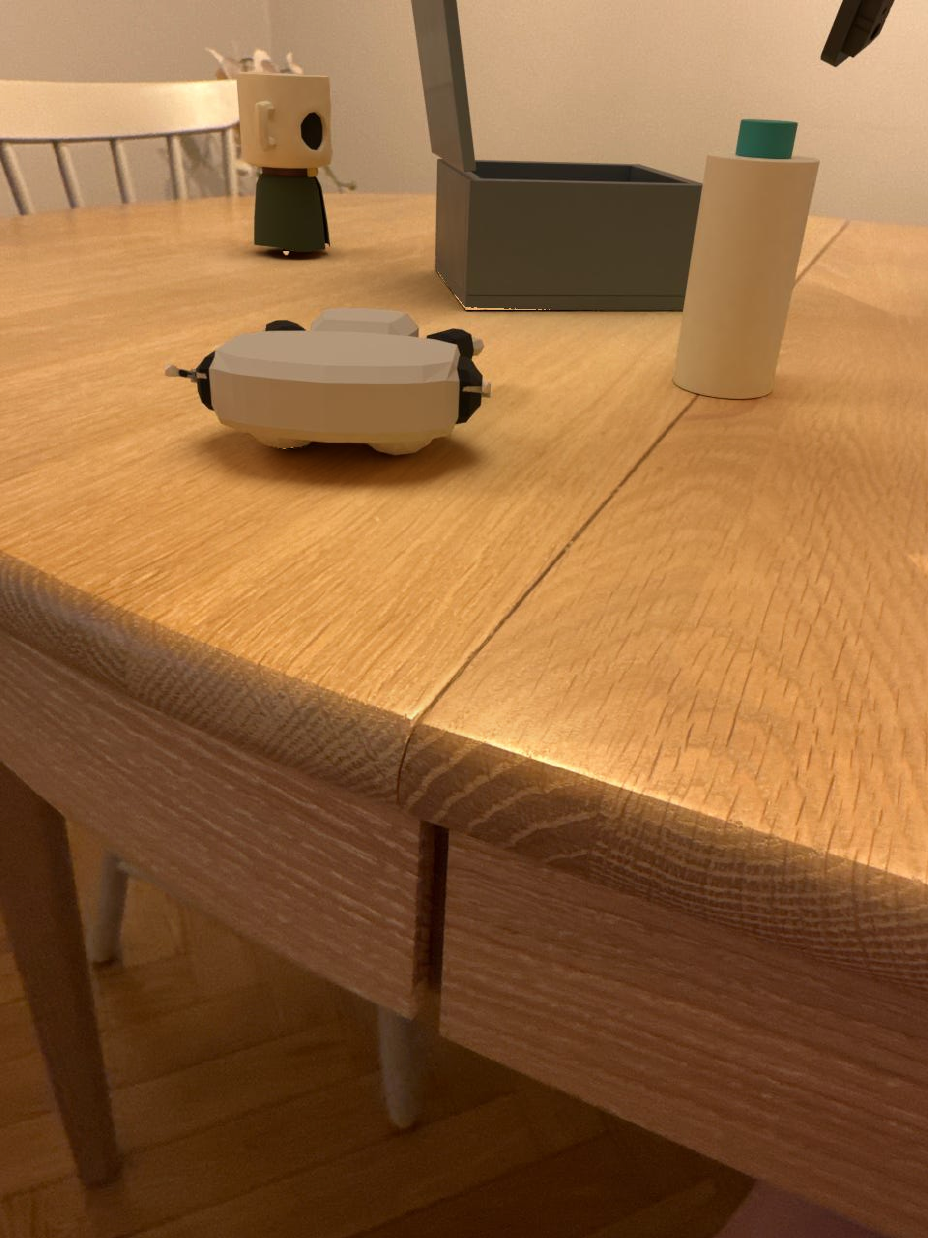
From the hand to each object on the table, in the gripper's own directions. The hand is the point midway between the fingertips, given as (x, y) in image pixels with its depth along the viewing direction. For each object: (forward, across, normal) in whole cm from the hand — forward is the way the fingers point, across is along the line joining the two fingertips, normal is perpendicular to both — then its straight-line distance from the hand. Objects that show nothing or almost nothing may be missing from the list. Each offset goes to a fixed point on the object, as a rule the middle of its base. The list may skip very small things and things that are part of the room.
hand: (750, 12), depth 40 cm
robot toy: (+12, +4, +21) cm, 24 cm away
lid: (+12, +23, -7) cm, 27 cm away
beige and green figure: (+34, +33, -1) cm, 47 cm away
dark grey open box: (+27, +12, -8) cm, 31 cm away
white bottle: (+15, -6, +3) cm, 17 cm away
